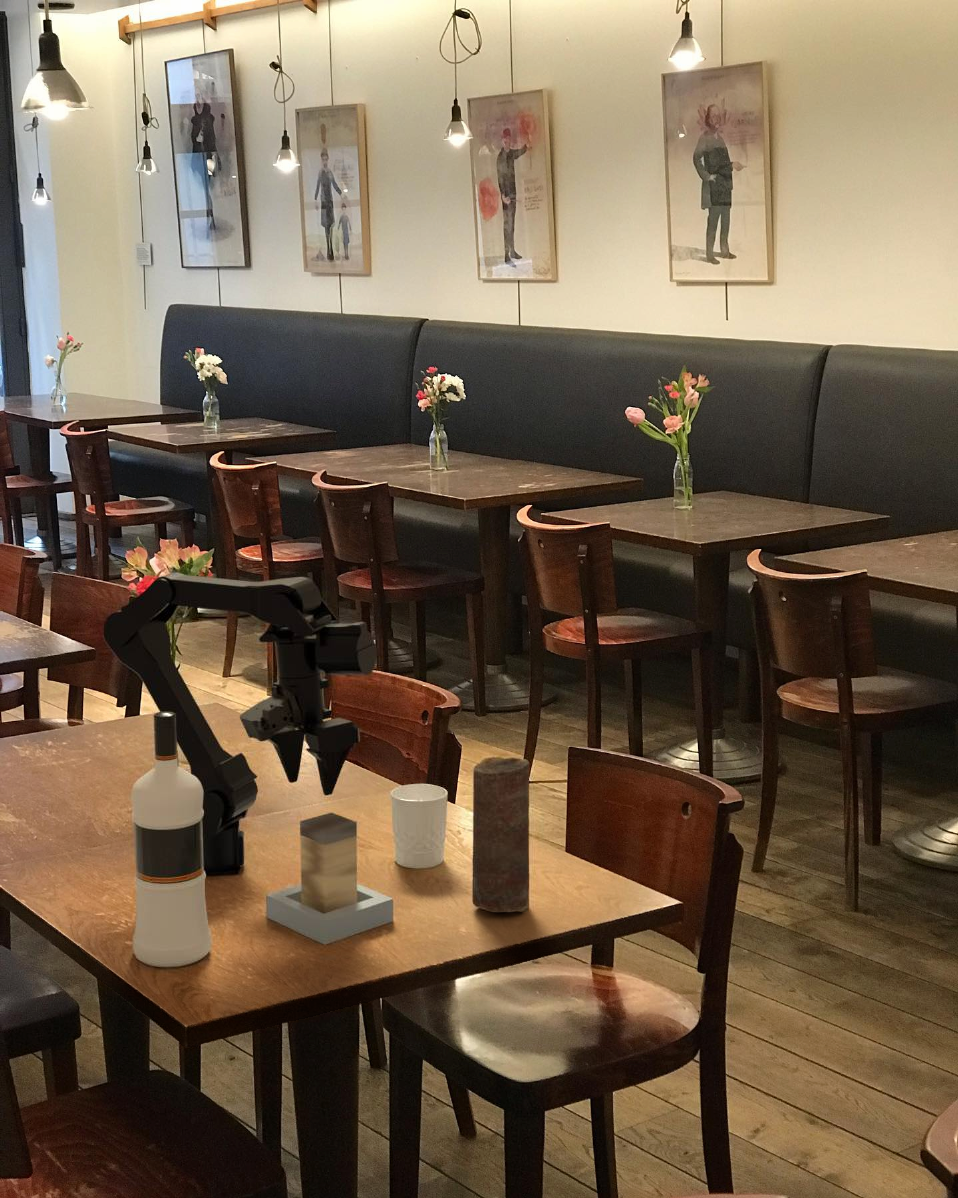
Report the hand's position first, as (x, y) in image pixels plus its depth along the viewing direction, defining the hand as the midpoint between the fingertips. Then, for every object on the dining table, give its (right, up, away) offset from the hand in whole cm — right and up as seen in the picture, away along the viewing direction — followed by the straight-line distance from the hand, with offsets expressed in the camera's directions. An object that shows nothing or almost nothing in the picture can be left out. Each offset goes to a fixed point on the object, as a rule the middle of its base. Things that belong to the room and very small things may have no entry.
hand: (310, 788), depth 213 cm
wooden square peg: (+4, -15, -10) cm, 19 cm away
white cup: (+14, -12, +11) cm, 21 cm away
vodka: (-14, -18, -21) cm, 31 cm away
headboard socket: (+4, -15, -10) cm, 19 cm away
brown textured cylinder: (+25, -15, -7) cm, 30 cm away
